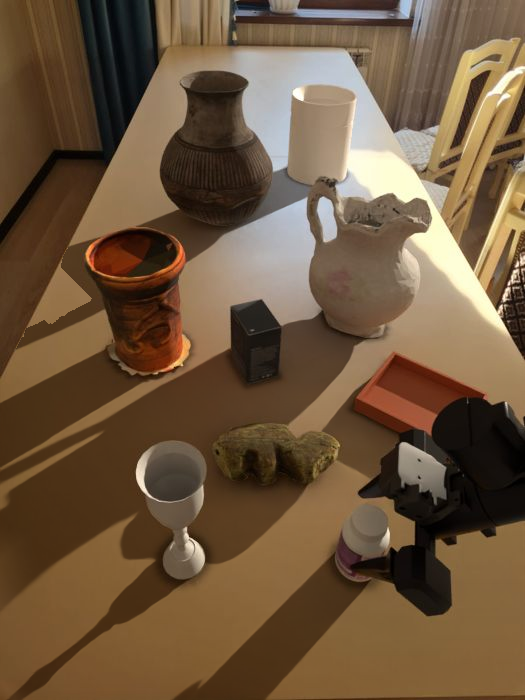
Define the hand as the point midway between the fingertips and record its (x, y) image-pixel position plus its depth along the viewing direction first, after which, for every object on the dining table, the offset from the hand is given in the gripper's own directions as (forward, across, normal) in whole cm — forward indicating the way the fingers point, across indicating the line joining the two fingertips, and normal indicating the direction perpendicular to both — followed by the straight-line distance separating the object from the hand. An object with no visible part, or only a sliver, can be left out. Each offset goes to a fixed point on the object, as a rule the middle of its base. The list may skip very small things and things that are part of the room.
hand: (356, 530), depth 60 cm
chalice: (+19, +4, -8) cm, 21 cm away
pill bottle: (+4, 0, +6) cm, 7 cm away
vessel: (+31, -29, -21) cm, 47 cm away
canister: (+19, -108, -8) cm, 110 cm away
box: (+18, -30, -8) cm, 36 cm away
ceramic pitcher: (+8, -48, +2) cm, 49 cm away
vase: (+32, -76, -22) cm, 86 cm away
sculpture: (+13, -12, -3) cm, 18 cm away
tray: (-1, -27, +11) cm, 29 cm away
